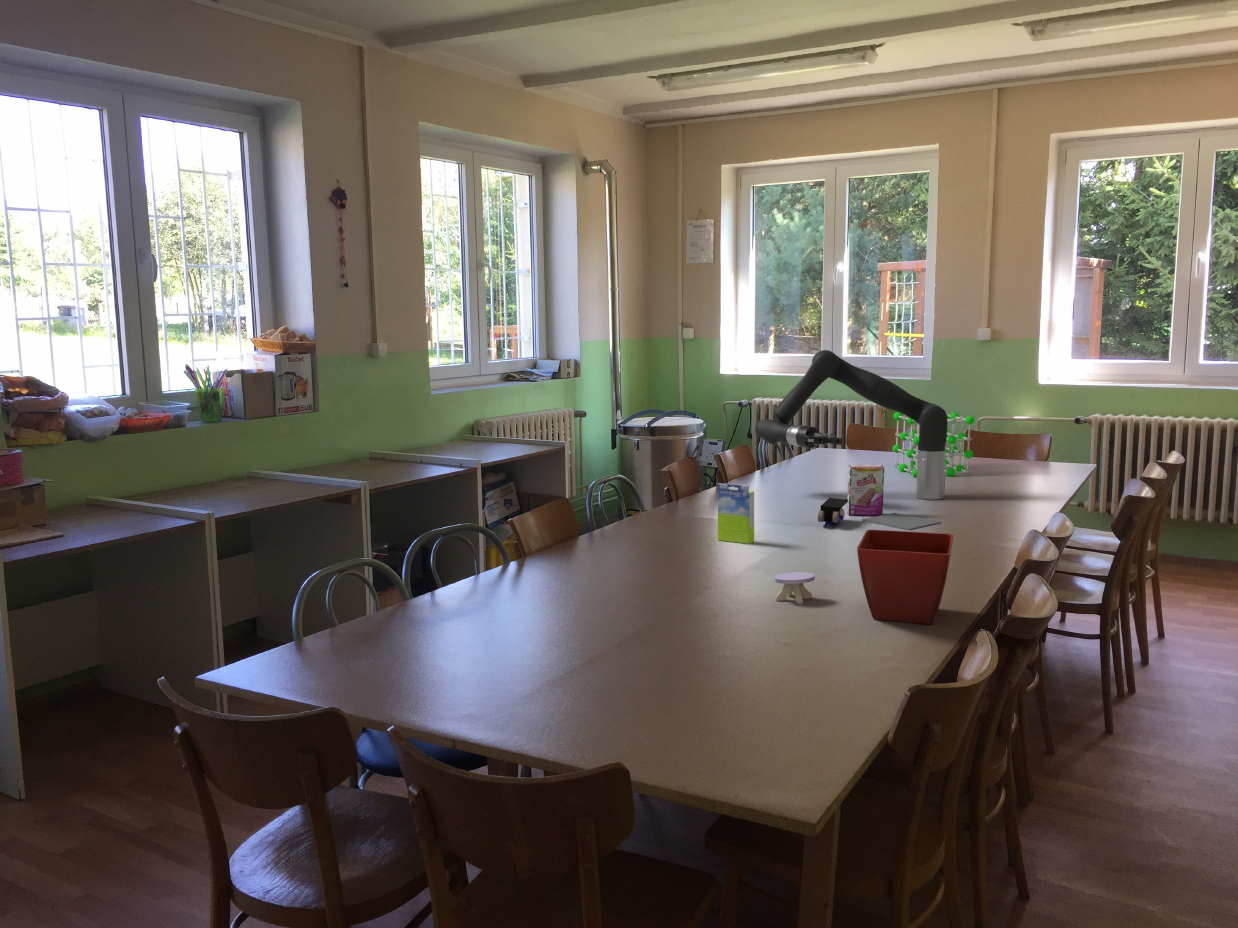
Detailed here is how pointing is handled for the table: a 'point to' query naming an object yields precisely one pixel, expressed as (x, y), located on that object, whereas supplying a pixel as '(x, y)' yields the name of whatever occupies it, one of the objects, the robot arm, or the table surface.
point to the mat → (901, 521)
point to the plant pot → (904, 573)
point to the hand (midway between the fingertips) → (840, 441)
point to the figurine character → (832, 511)
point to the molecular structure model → (951, 439)
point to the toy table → (794, 586)
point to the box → (735, 514)
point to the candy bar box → (865, 490)
